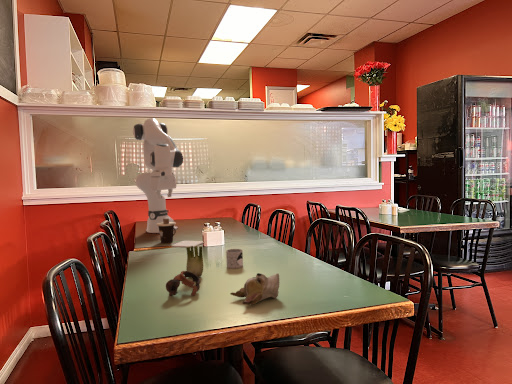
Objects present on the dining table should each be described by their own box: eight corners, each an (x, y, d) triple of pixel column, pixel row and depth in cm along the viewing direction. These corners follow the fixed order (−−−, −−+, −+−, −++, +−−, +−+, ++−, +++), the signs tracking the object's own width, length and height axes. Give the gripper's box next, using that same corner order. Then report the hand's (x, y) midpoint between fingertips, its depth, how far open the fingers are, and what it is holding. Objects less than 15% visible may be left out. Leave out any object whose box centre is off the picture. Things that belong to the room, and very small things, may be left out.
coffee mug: (157, 241, 208) (156, 224, 208) (172, 239, 212) (172, 222, 211) (161, 245, 198) (160, 226, 197) (177, 243, 201) (176, 225, 201)
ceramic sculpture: (286, 272, 110) (241, 283, 103) (289, 300, 110) (244, 313, 104) (270, 264, 119) (227, 274, 113) (272, 290, 120) (230, 302, 114)
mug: (240, 268, 147) (240, 252, 147) (224, 268, 148) (224, 252, 148) (246, 262, 157) (245, 247, 156) (231, 262, 158) (230, 246, 158)
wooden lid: (163, 223, 211) (163, 217, 211) (179, 223, 208) (178, 217, 208) (152, 226, 201) (152, 219, 201) (169, 226, 198) (169, 220, 198)
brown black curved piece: (180, 288, 127) (191, 268, 126) (197, 305, 122) (208, 284, 121) (154, 290, 117) (165, 268, 116) (171, 308, 112) (184, 285, 111)
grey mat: (183, 241, 206) (183, 240, 206) (204, 242, 202) (204, 241, 202) (171, 246, 194) (171, 245, 194) (193, 247, 190) (193, 246, 190)
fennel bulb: (205, 276, 139) (203, 244, 138) (198, 279, 134) (197, 247, 133) (191, 274, 141) (190, 244, 140) (184, 278, 136) (183, 246, 135)
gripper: (168, 172, 214) (170, 196, 214) (148, 173, 194) (149, 199, 195) (178, 172, 212) (179, 196, 212) (158, 173, 192) (159, 199, 193)
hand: (164, 197), depth 204 cm, fingers open, 8 cm apart
